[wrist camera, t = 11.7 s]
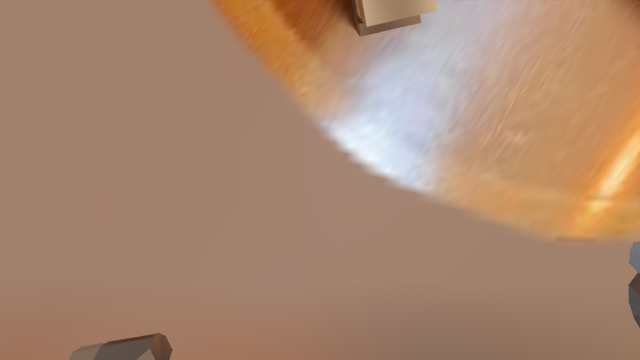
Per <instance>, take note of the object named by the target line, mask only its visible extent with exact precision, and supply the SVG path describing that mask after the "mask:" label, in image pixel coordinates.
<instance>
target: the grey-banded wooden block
mask: <svg viewBox="0 0 640 360" xmlns="http://www.w3.org/2000/svg"><path fill="white" fill-rule="evenodd" d="M355 3H356V9H357V14H358V16H359V17H360V18H361V20H362V21H363V22H364V24H365V25H366V26H367V27H368V26H373V25H377V24H381V23H386V22H390V21H395V20H399V19H403V18H408V17H412V16H417V15H421V14H426V13H430V12H434V11H437V4H436V0H355Z"/></svg>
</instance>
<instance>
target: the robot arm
mask: <svg viewBox="0 0 640 360" xmlns="http://www.w3.org/2000/svg"><path fill="white" fill-rule="evenodd" d="M629 263H630V264H631V265H632V266H633V267H634V268H635V269H636V270H637V271H638V273H637V275H636V276H635V277H634V278H633V280H632V281H631V283H630V284H629V304H630V307H631V311H632V314H633V317H634V319H635V321H636V322H637V324H638V326H639V328H640V241H637V242H634V243H633V245H632V247H631V250H630V261H629ZM171 353H172V348H171V346H170V344H169V342H168V339H167V337H166V336H165V335H163V334H160V333H157V334H151V335H145V336H139V337H134V338H127V339H121V340H115V341H109V342H107V343H99V344H94V345H88V346H83V347H80V348H78V349H77V350H75V351H74V352H73V353H72V355H71V357H70V358H69V360H169V359H170V356H171Z"/></svg>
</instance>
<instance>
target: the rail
mask: <svg viewBox="0 0 640 360" xmlns="http://www.w3.org/2000/svg"><path fill="white" fill-rule="evenodd" d="M351 3H352V9H353V14H354V20H355V25H356V31H357V33H358V34H359V36H364V35H369V34H373V33H378V32H382V31H387V30H391V29H395V28H400V27H404V26H409V25H413V24H418V23H421V19H420V15H417V16H412V17H408V18H403V19H399V20H395V21H390V22H386V23H381V24H377V25H373V26H368V27H367V26H366V25H365V24H364V22H363V21H362V20H361V18H360V17H359V16H358V14H357V9H356V3H355V0H351Z"/></svg>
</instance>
